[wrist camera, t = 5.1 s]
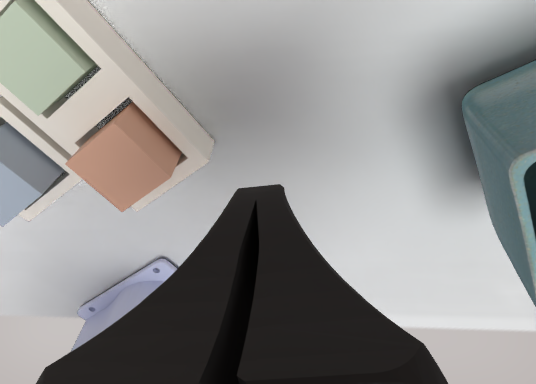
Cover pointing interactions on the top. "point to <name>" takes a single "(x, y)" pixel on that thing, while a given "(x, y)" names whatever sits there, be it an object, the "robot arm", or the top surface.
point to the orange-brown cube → (126, 158)
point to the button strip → (114, 94)
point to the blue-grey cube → (22, 173)
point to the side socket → (5, 111)
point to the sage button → (38, 57)
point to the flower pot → (508, 161)
